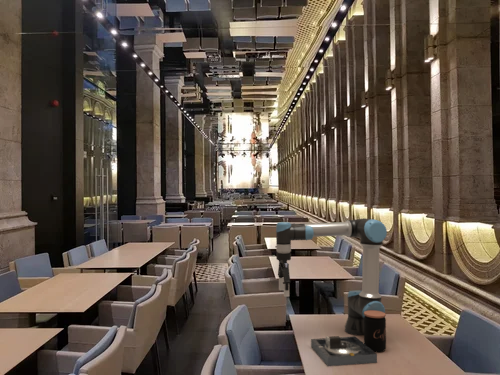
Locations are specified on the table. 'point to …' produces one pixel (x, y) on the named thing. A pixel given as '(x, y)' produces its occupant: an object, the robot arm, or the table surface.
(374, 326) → the coffee jar
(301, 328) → the table surface
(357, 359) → the grey square tray
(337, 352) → the dial
